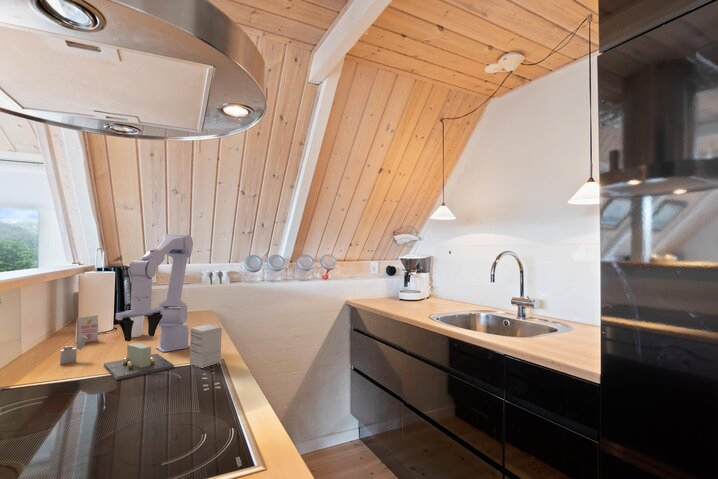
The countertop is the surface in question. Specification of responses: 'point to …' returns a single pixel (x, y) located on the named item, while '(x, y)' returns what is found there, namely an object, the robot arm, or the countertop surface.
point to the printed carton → (87, 328)
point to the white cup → (137, 326)
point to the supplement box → (205, 345)
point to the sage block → (139, 354)
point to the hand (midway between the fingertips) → (139, 338)
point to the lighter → (71, 352)
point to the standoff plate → (136, 367)
